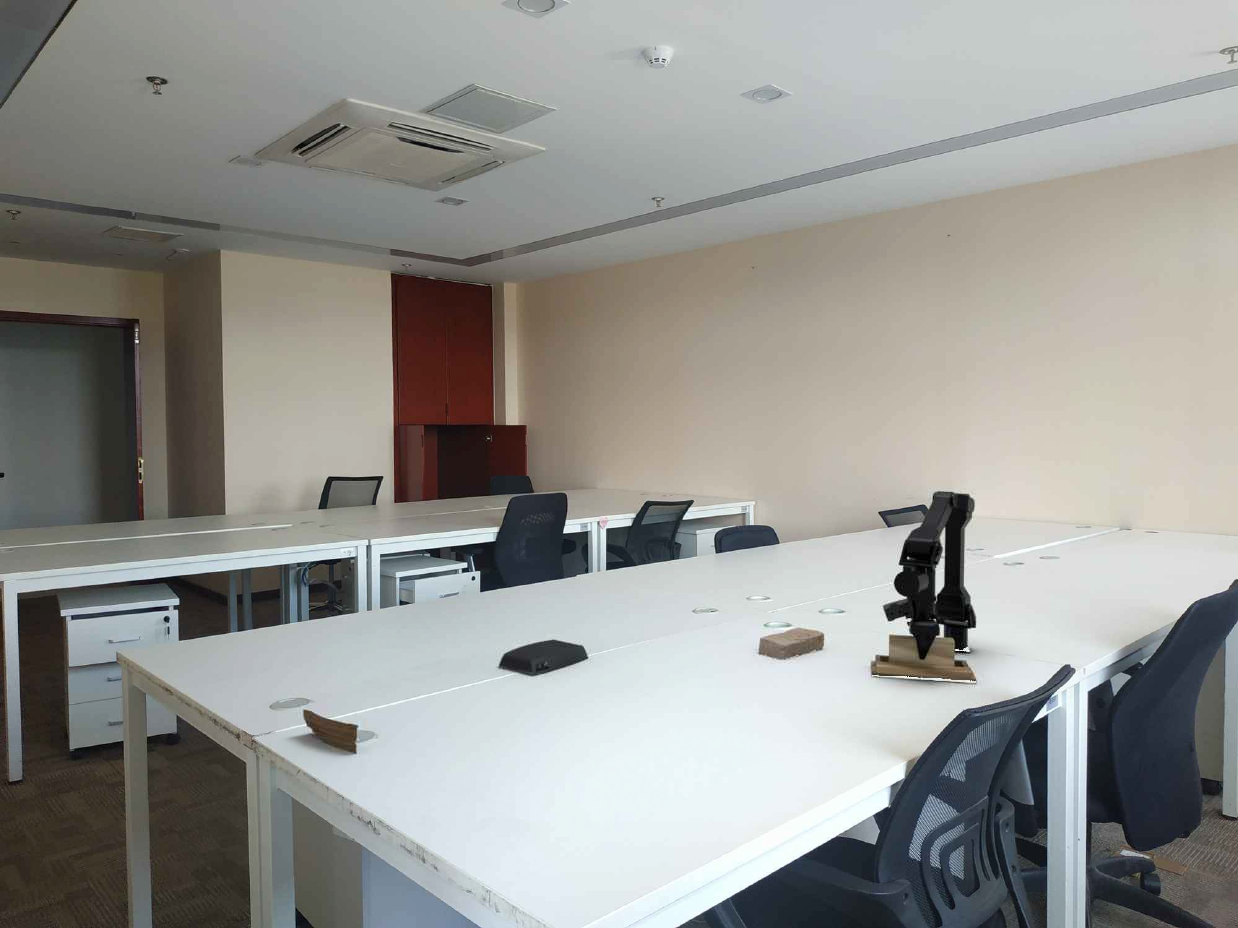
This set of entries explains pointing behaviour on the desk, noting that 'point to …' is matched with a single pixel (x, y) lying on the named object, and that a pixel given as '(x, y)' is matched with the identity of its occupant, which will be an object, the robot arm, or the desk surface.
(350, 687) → the desk surface
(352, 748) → the wood plank
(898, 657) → the oak plank
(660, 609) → the desk surface
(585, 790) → the desk surface
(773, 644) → the brick
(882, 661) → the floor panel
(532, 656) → the external hard drive
